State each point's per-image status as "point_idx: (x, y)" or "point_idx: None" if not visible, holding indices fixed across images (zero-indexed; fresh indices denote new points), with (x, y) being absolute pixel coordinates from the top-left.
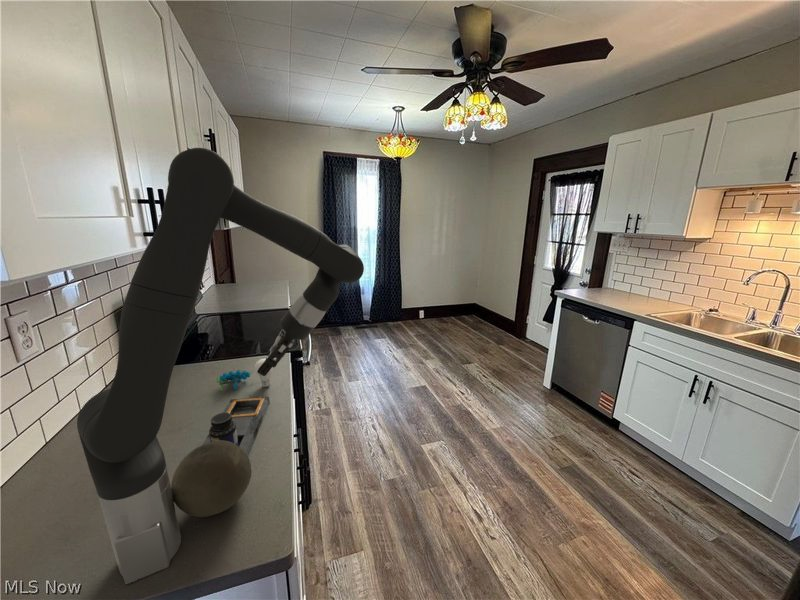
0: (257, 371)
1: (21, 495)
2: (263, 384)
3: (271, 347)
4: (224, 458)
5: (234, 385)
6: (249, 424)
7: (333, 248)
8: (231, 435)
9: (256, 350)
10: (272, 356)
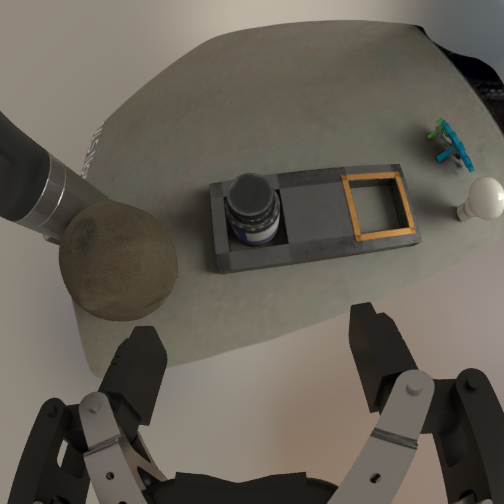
0: (136, 327)
1: (195, 54)
2: (459, 209)
3: (115, 461)
4: (73, 287)
5: (442, 153)
6: (324, 239)
7: None
8: (241, 231)
9: None
10: (351, 340)
